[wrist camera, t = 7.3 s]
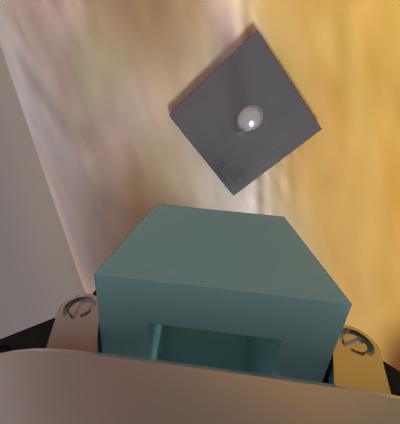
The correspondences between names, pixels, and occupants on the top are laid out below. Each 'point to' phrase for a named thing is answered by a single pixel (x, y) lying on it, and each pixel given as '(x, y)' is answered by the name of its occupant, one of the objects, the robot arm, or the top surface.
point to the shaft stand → (245, 116)
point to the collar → (220, 295)
